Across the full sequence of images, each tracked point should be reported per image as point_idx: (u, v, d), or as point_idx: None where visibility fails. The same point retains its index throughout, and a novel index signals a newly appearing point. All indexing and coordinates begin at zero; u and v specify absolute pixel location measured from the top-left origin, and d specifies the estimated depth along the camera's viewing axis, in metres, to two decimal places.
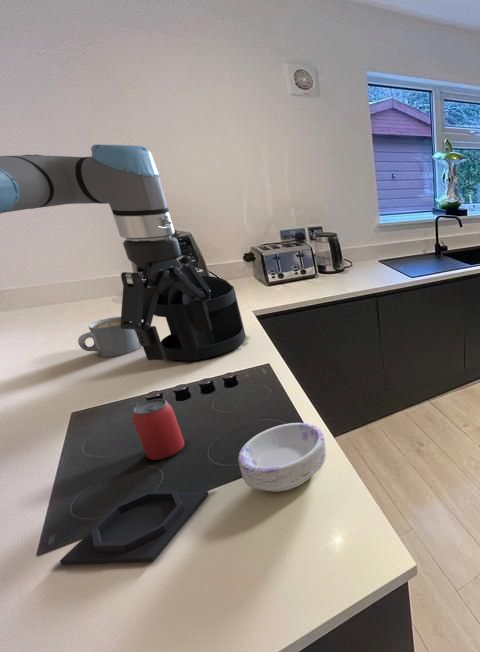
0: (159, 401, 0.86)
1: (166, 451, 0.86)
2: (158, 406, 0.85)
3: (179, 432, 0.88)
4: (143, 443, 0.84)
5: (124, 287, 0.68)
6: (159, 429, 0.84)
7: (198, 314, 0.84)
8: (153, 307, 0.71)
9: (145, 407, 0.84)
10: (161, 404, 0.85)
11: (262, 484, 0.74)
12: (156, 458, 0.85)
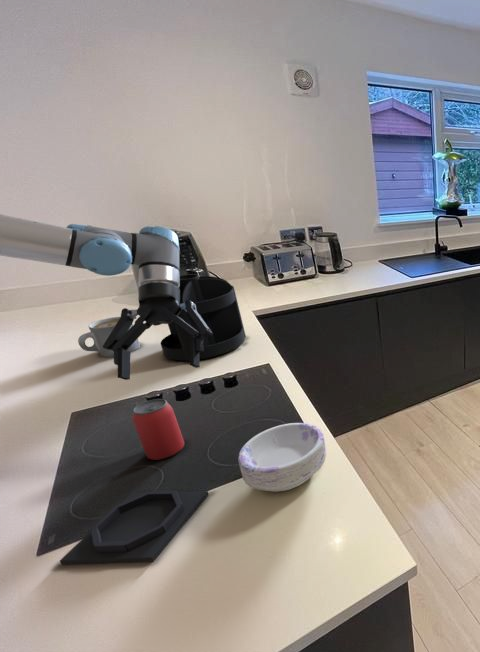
0: (159, 401, 0.86)
1: (166, 451, 0.86)
2: (158, 406, 0.85)
3: (179, 432, 0.88)
4: (143, 443, 0.84)
5: (192, 309, 0.95)
6: (159, 429, 0.84)
7: (126, 362, 0.89)
8: None
9: (145, 407, 0.84)
10: (161, 404, 0.85)
11: (262, 484, 0.74)
12: (156, 458, 0.85)
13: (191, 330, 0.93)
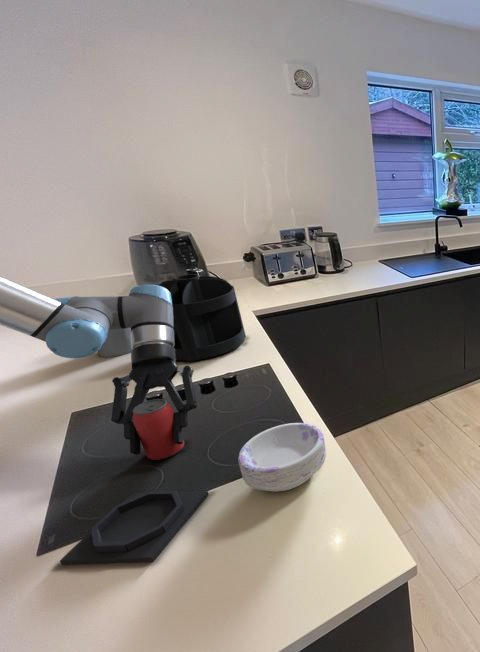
0: (159, 401, 0.86)
1: (166, 451, 0.86)
2: (158, 406, 0.85)
3: None
4: (143, 443, 0.84)
5: (188, 376, 0.91)
6: (159, 429, 0.84)
7: (137, 435, 0.84)
8: None
9: (145, 407, 0.84)
10: (161, 404, 0.85)
11: (262, 484, 0.74)
12: (156, 458, 0.85)
13: (178, 402, 0.88)
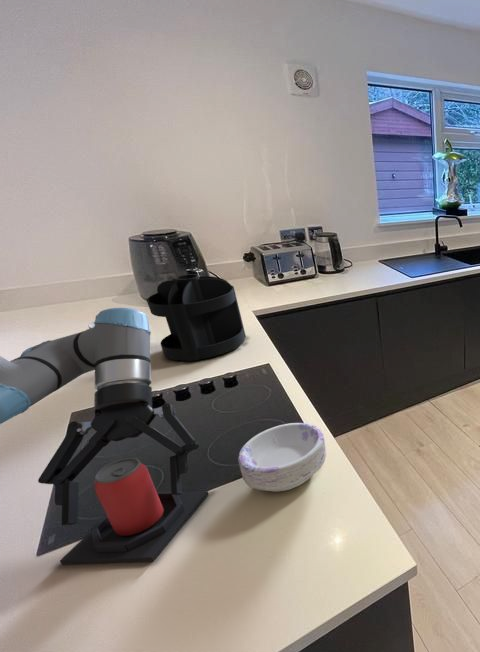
0: (130, 461, 0.68)
1: (139, 525, 0.68)
2: (128, 469, 0.66)
3: (156, 498, 0.70)
4: (109, 517, 0.66)
5: (173, 415, 0.73)
6: (129, 499, 0.66)
7: (73, 499, 0.65)
8: None
9: (111, 471, 0.66)
10: (132, 466, 0.67)
11: (262, 484, 0.74)
12: (126, 534, 0.67)
13: (173, 445, 0.71)
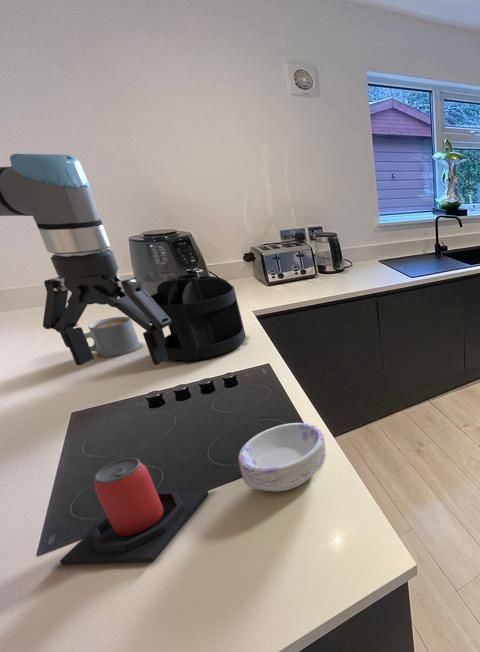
0: (130, 461, 0.68)
1: (139, 525, 0.68)
2: (128, 469, 0.66)
3: (156, 498, 0.70)
4: (109, 517, 0.66)
5: (134, 293, 0.70)
6: (129, 499, 0.66)
7: (80, 344, 0.74)
8: None
9: (111, 471, 0.66)
10: (132, 466, 0.67)
11: (262, 484, 0.74)
12: (126, 534, 0.67)
13: (142, 323, 0.72)
